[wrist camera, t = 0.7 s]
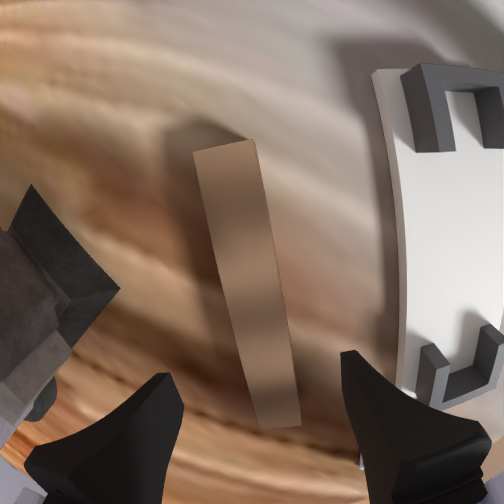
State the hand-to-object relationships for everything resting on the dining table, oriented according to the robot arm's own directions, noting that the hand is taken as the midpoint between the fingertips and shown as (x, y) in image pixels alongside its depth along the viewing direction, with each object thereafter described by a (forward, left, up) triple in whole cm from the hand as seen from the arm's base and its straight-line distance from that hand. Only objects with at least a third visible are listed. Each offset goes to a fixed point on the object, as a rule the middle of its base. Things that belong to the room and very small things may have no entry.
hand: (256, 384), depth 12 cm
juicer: (-1, +26, -10) cm, 28 cm away
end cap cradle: (+1, -15, -9) cm, 17 cm away
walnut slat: (0, 0, -10) cm, 10 cm away
